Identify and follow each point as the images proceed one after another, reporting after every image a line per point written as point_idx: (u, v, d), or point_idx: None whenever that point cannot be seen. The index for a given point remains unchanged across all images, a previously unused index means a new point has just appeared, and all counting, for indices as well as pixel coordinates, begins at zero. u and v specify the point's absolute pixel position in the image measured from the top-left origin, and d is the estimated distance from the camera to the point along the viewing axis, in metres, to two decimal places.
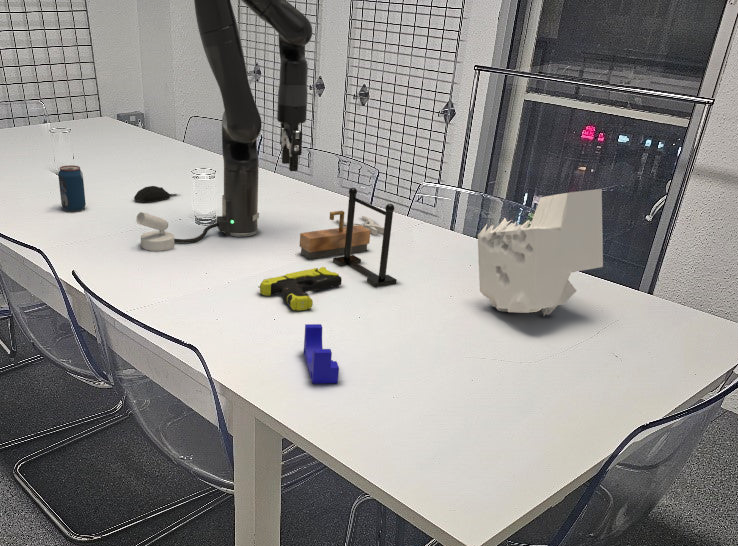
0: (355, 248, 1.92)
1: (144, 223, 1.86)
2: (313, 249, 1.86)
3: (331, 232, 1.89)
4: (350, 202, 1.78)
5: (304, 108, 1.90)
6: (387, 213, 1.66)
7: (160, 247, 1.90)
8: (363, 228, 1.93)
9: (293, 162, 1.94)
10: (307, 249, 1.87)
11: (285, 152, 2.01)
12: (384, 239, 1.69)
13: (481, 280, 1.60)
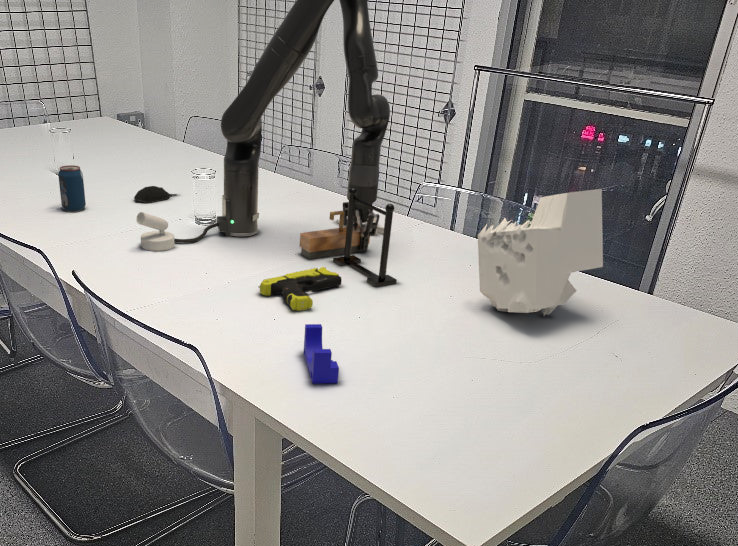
0: (355, 248, 1.92)
1: (144, 223, 1.86)
2: (313, 249, 1.86)
3: (331, 232, 1.89)
4: (350, 202, 1.78)
5: (377, 187, 1.86)
6: (387, 213, 1.66)
7: (160, 247, 1.90)
8: None
9: (365, 242, 1.91)
10: (307, 249, 1.87)
11: None
12: (384, 239, 1.69)
13: (481, 280, 1.60)
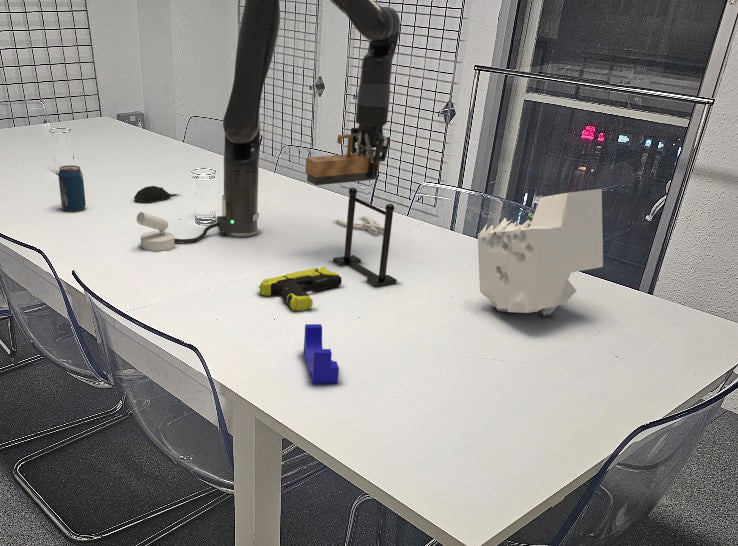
0: (363, 175, 1.83)
1: (144, 223, 1.86)
2: (320, 174, 1.77)
3: (339, 157, 1.80)
4: (350, 202, 1.78)
5: (388, 108, 1.76)
6: (387, 213, 1.66)
7: (160, 247, 1.90)
8: None
9: (374, 169, 1.81)
10: (313, 174, 1.77)
11: None
12: (384, 239, 1.69)
13: (481, 280, 1.60)
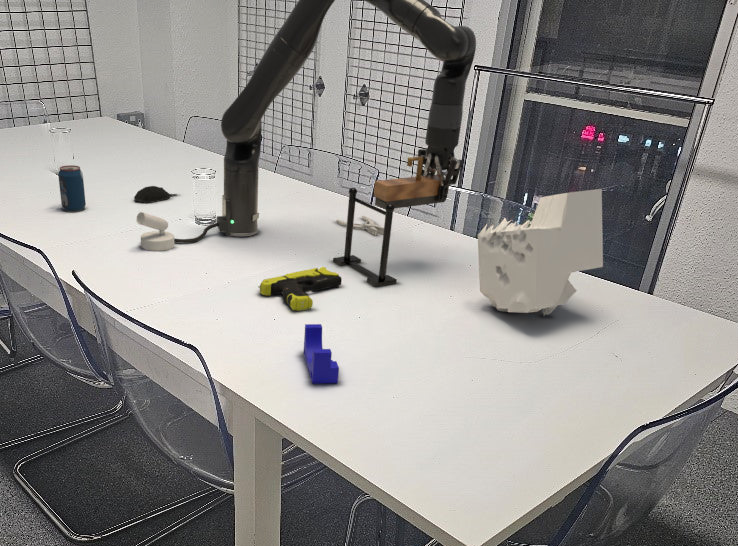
0: (432, 198, 1.77)
1: (144, 223, 1.86)
2: (390, 198, 1.71)
3: (408, 180, 1.74)
4: (350, 202, 1.78)
5: None
6: (387, 213, 1.66)
7: (160, 247, 1.90)
8: None
9: (444, 192, 1.75)
10: (383, 198, 1.71)
11: None
12: (384, 239, 1.69)
13: (481, 280, 1.60)
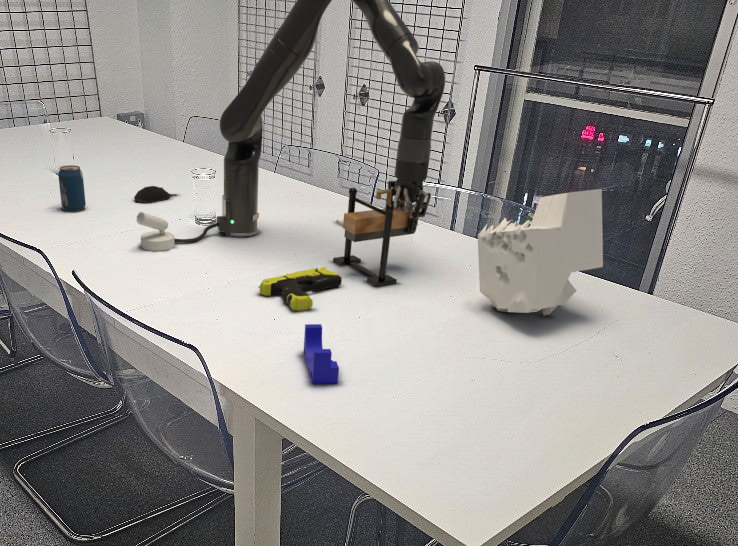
0: (402, 230, 1.77)
1: (144, 223, 1.86)
2: (358, 231, 1.71)
3: (377, 212, 1.75)
4: (350, 202, 1.78)
5: (428, 163, 1.71)
6: (387, 213, 1.66)
7: (160, 247, 1.90)
8: None
9: (413, 224, 1.76)
10: (352, 231, 1.72)
11: None
12: (384, 239, 1.69)
13: (481, 280, 1.60)
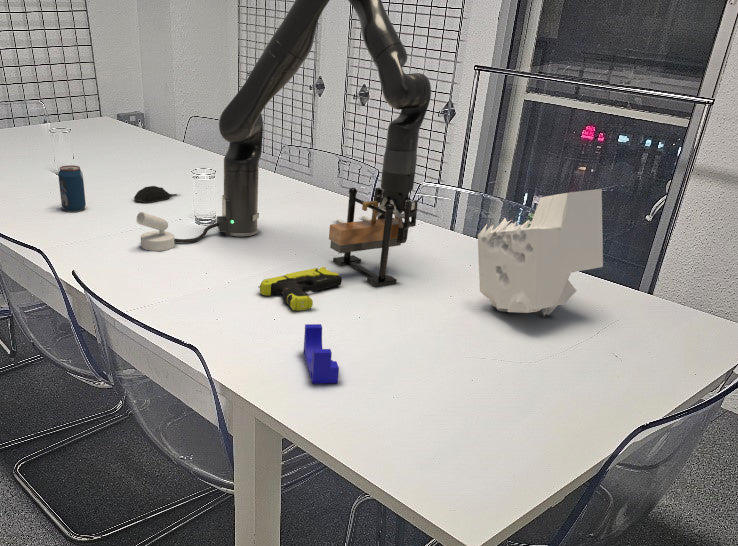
0: None
1: (144, 223, 1.86)
2: (344, 242, 1.71)
3: (363, 224, 1.74)
4: (350, 202, 1.78)
5: (414, 175, 1.71)
6: (387, 213, 1.66)
7: (160, 247, 1.90)
8: (397, 220, 1.78)
9: (404, 234, 1.74)
10: (338, 242, 1.71)
11: None
12: (384, 239, 1.69)
13: (481, 280, 1.60)
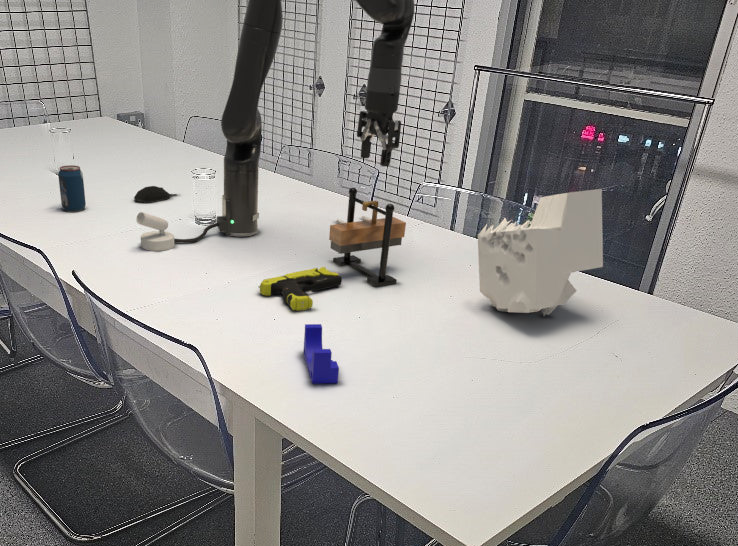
0: None
1: (144, 223, 1.86)
2: (344, 242, 1.71)
3: (364, 224, 1.74)
4: (350, 202, 1.78)
5: (398, 95, 1.69)
6: (387, 213, 1.66)
7: (160, 247, 1.90)
8: (398, 220, 1.78)
9: (387, 156, 1.72)
10: (338, 242, 1.71)
11: (366, 145, 1.79)
12: (384, 239, 1.69)
13: (481, 280, 1.60)
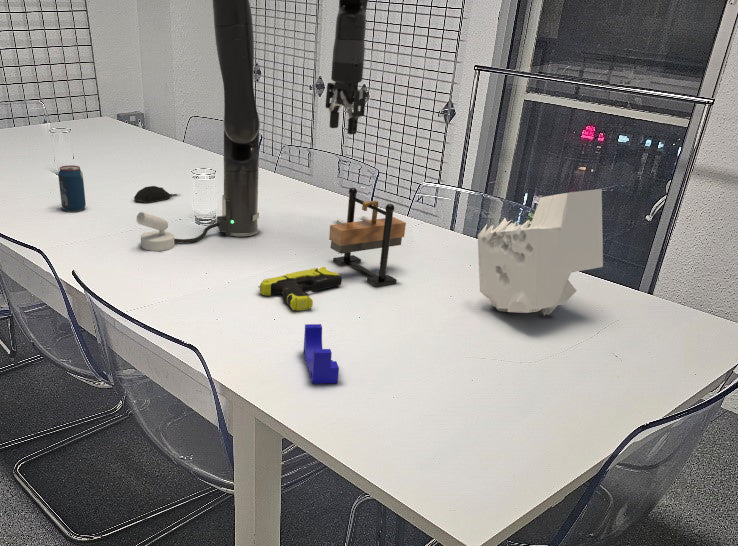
0: None
1: (144, 223, 1.86)
2: (344, 242, 1.71)
3: (364, 224, 1.74)
4: (350, 202, 1.78)
5: (362, 65, 1.78)
6: (387, 213, 1.66)
7: (160, 247, 1.90)
8: (397, 220, 1.78)
9: (353, 124, 1.82)
10: (338, 242, 1.71)
11: (334, 115, 1.88)
12: (384, 239, 1.69)
13: (481, 280, 1.60)
